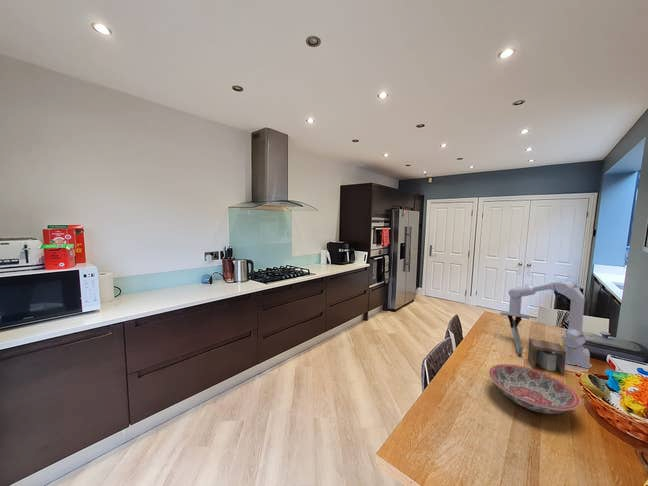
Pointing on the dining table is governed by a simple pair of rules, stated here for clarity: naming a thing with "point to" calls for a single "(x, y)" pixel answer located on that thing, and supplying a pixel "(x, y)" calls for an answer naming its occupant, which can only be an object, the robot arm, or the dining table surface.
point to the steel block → (517, 338)
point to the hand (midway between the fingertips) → (513, 327)
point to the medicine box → (546, 360)
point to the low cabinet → (548, 347)
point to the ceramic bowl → (534, 389)
